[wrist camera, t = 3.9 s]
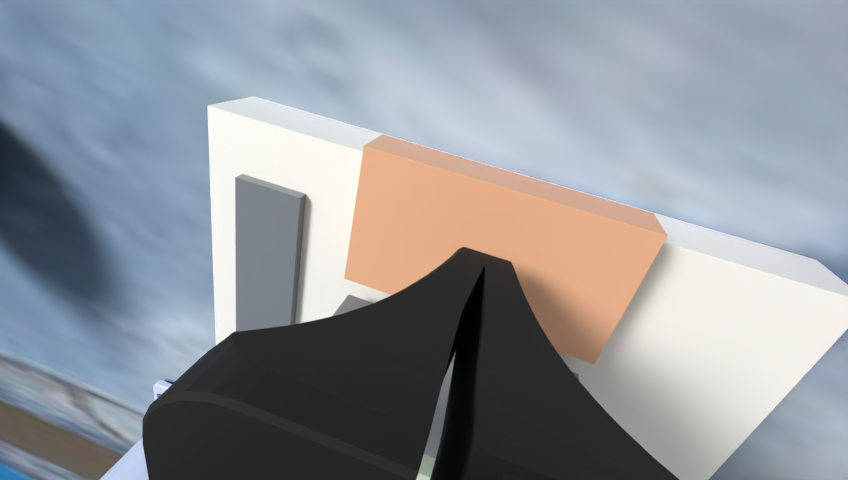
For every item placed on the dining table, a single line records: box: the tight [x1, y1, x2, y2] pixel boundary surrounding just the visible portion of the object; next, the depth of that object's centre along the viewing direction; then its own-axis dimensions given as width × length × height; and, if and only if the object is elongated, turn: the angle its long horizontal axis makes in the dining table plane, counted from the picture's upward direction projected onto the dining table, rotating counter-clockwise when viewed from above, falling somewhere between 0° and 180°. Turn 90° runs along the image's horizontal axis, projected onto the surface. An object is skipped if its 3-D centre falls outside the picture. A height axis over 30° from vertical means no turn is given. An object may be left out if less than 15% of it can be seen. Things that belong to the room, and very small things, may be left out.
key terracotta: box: [344, 135, 668, 364], centre depth 12 cm, size 4×8×2 cm, turn 77°
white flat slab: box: [208, 96, 848, 480], centre depth 16 cm, size 14×20×3 cm
